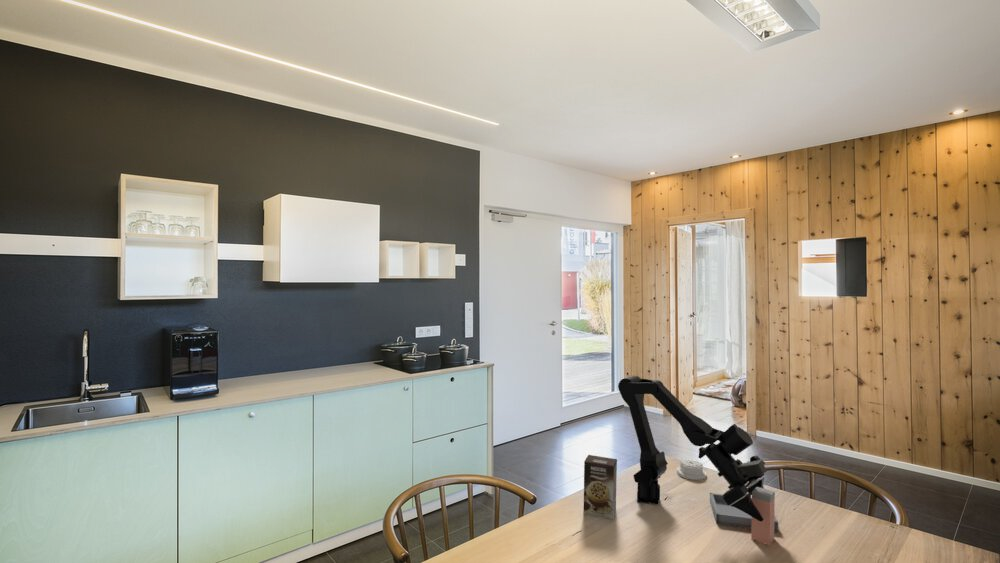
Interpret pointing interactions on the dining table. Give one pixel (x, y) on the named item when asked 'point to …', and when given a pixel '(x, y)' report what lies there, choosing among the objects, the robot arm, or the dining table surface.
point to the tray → (731, 513)
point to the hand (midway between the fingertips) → (767, 514)
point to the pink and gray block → (763, 515)
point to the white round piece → (691, 470)
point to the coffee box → (600, 486)
